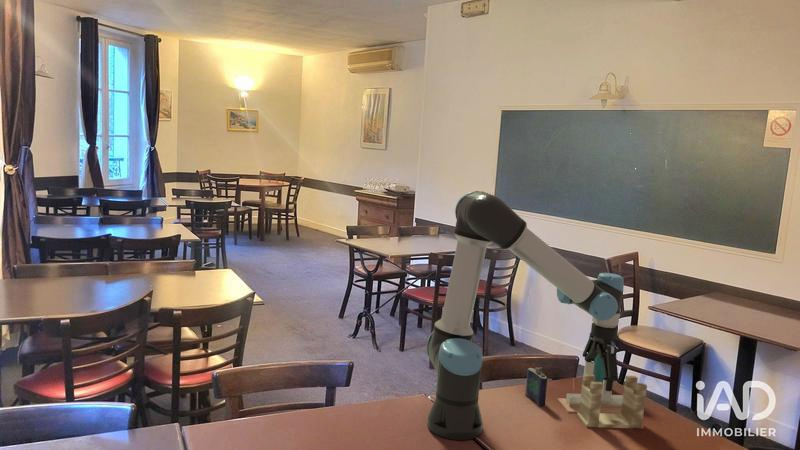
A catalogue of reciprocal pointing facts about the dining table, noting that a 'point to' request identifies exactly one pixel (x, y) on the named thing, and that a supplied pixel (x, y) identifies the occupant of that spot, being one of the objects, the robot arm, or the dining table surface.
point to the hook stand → (593, 417)
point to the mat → (576, 409)
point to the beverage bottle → (599, 368)
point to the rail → (615, 402)
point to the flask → (536, 386)
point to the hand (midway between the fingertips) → (596, 390)
